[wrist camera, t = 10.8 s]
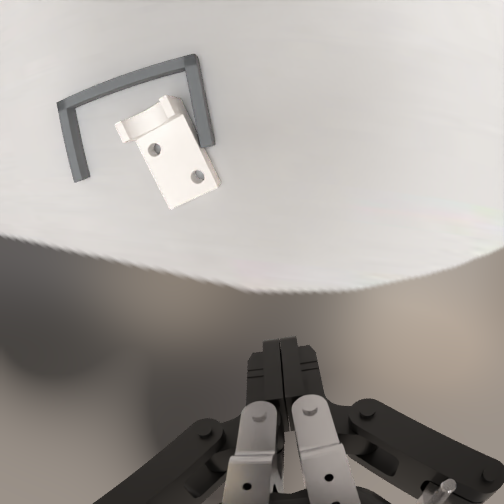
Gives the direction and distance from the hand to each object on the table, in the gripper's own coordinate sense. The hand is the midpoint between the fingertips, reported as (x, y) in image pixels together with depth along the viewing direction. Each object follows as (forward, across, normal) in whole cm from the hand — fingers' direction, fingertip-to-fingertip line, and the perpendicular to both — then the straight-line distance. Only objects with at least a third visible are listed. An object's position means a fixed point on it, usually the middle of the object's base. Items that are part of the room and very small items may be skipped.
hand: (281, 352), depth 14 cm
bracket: (+32, +11, -8) cm, 35 cm away
